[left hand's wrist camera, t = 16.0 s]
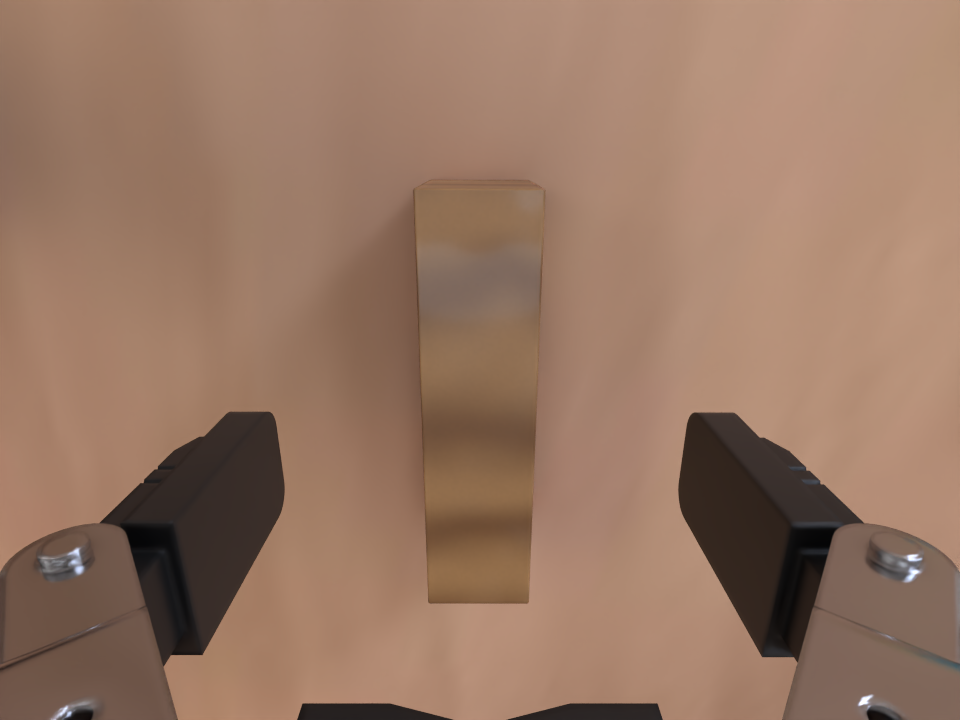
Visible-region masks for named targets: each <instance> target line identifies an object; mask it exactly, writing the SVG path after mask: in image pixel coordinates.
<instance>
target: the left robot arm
mask: <svg viewBox="0 0 960 720" xmlns="http://www.w3.org/2000/svg"><path fill="white" fill-rule="evenodd" d="M284 490H285V488H284V477H283V470H282V463H281V455H280V448H279V441H278V434H277V426H276V421H275V418H274V416H273V414H272V413H271V412H229V413H227V414H226V415H225V416H224V417H223V418H222V419H221V420H220V421H219V422H218V423H217V424H216V425H215V426H214V427H213V428H212V429H211V430H210V431H209V432H208V433H207V434H206V435H205V436H204V437H198V438H196V439H195V440H193V441H191V442H189V443H187V444H185V445H183V446H182V447H180V448H178V449H176V450H174V451H173V452H172V453H171V454H170V455H169V456H168V457H167V458H166V459H165V460H164V461H163V462H162V463H161V464H160V465H159V466H158V470H154V471H153V472H152V473H151V474H150V475H149V476H148V477H147V478H145V479H144V483H140V484H139V485H138V486H137V487H136V488H135V489H134V490H133V491H132V492H131V493H130V494H129V495H128V496H127V497H126V498H125V499H124V500H123V501H122V502H121V503H120V504H119V505H118V506H117V507H116V508H115V509H113V510H112V511H111V512H110V513H109V514H108V515H107V516H106V517H105V518H104V519H103V520H102V521H101V522H100V523H94V524H85V525H79V526H74V527H71V528H67V529H63V530H60V531H58V532H55V533H52V534H50V535H47V536H45V537H43V538H41V539H39V540H37V541H35V542H33V543H31V544H30V545H28V546H26V547H25V548H23V549H22V550H20V551H19V552H18V553H16V554H15V555H14V556H13V557H12V558H11V559H10V560H9V561H8V562H7V563H6V564H5V565H4V567H3V569H2V570H1V572H0V720H178V719H177V715H176V711H175V708H174V704H173V700H172V697H171V693H170V689H169V686H168V682H167V678H166V675H165V671H164V665H165V664H166V662H167V660H168V659H169V657H170V655H203V653H204V651H205V649H206V647H207V646H208V644H209V642H210V640H211V638H212V637H213V635H214V633H215V631H216V629H217V628H218V626H219V624H220V622H221V620H222V619H223V617H224V615H225V613H226V611H227V610H228V608H229V606H230V604H231V602H232V601H233V599H234V597H235V595H236V593H237V592H238V590H239V588H240V586H241V584H242V583H243V581H244V579H245V577H246V575H247V574H248V572H249V570H250V568H251V566H252V565H253V563H254V561H255V559H256V557H257V555H258V554H259V552H260V550H261V548H262V546H263V545H264V543H265V541H266V539H267V537H268V536H269V534H270V532H271V530H272V528H273V527H274V525H275V523H276V521H277V519H278V518H279V516H280V513H281V510H282V507H283V502H284ZM678 491H679V503H680V508H681V511H682V514H683V517H684V519H685V520H686V522H687V524H688V526H689V527H690V529H691V531H692V533H693V535H694V536H695V538H696V540H697V542H698V544H699V545H700V547H701V549H702V551H703V552H704V554H705V556H706V558H707V560H708V561H709V563H710V565H711V567H712V568H713V570H714V572H715V574H716V576H717V577H718V579H719V581H720V583H721V584H722V586H723V588H724V590H725V592H726V593H727V595H728V597H729V599H730V601H731V602H732V604H733V606H734V608H735V609H736V611H737V613H738V615H739V617H740V618H741V620H742V622H743V624H744V625H745V627H746V629H747V631H748V633H749V634H750V636H751V638H752V640H753V641H754V643H755V645H756V647H757V649H758V650H759V652H760V654H761V656H762V657H794V658H795V659H796V661H797V662H798V664H797V667H796V671H795V675H794V678H793V682H792V686H791V689H790V693H789V697H788V700H787V704H786V708H785V711H784V715H783V719H782V720H960V572H959V570H958V569H957V567H956V565H955V564H954V563H953V562H952V561H951V560H950V559H949V558H948V557H947V556H946V555H945V554H944V553H942V552H941V551H940V550H938V549H937V548H935V547H934V546H932V545H930V544H929V543H927V542H925V541H923V540H921V539H919V538H917V537H915V536H913V535H910V534H908V533H905V532H902V531H900V530H897V529H893V528H889V527H886V526H881V525H875V524H866V523H863V522H862V521H861V520H860V519H859V518H858V517H857V516H856V515H855V514H854V513H853V512H852V511H851V510H850V509H849V508H848V507H847V506H846V505H845V504H844V503H843V502H842V501H840V500H839V499H838V498H837V497H836V496H835V495H834V494H833V493H832V492H831V491H830V490H829V489H828V488H827V487H826V486H825V485H821V484H820V480H819V479H818V478H817V477H815V476H814V475H813V474H812V473H811V472H810V471H806V467H805V466H804V465H803V464H802V463H801V462H800V461H799V460H798V459H797V458H796V457H795V456H794V455H793V454H792V453H790V452H789V451H788V450H786V449H784V448H782V447H780V446H778V445H777V444H775V443H773V442H771V441H769V440H767V439H765V438H759V437H758V436H757V435H756V434H755V433H754V432H753V431H752V430H751V428H750V427H749V426H748V425H747V424H746V423H745V422H744V421H743V420H742V419H741V418H740V417H739V416H738V415H737V414H735V413H692V414H691V416H690V417H689V420H688V423H687V428H686V435H685V442H684V450H683V457H682V464H681V471H680V478H679V489H678ZM297 720H452V719H448V718H444V717H440V716H437V715H433V714H429V713H425V712H421V711H417V710H413V709H409V708H405V707H401V706H397V705H393V704H302V707H301V710H300V713H299V716H298V719H297ZM508 720H663V719H662V716H661V713H660V710H659V707H658V704H567V705H563V706H559V707H555V708H551V709H547V710H543V711H539V712H535V713H531V714H527V715H523V716H520V717H516V718H512V719H508Z"/></svg>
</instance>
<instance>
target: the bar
mask: <svg viewBox="0 0 960 720" xmlns="http://www.w3.org/2000/svg"><path fill="white" fill-rule="evenodd" d="M413 193H414V221H415V248H416V275H417V303H418V330H419V358H420V385H421V412H422V440H423V467H424V495H425V522H426V549H427V577H428V602H429V603H526V604H527V603H528V602H529V581H530V556H531V532H532V507H533V482H534V458H535V433H536V408H537V383H538V359H539V334H540V309H541V285H542V260H543V235H544V210H545V189H544V188H542V187H540V186H538V185H536V184H534V183H533V182H531V181H529V180H430V181H428V182H426V183H424V184H422V185H420V186H418V187H416V188H415V189H414V190H413Z"/></svg>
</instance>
